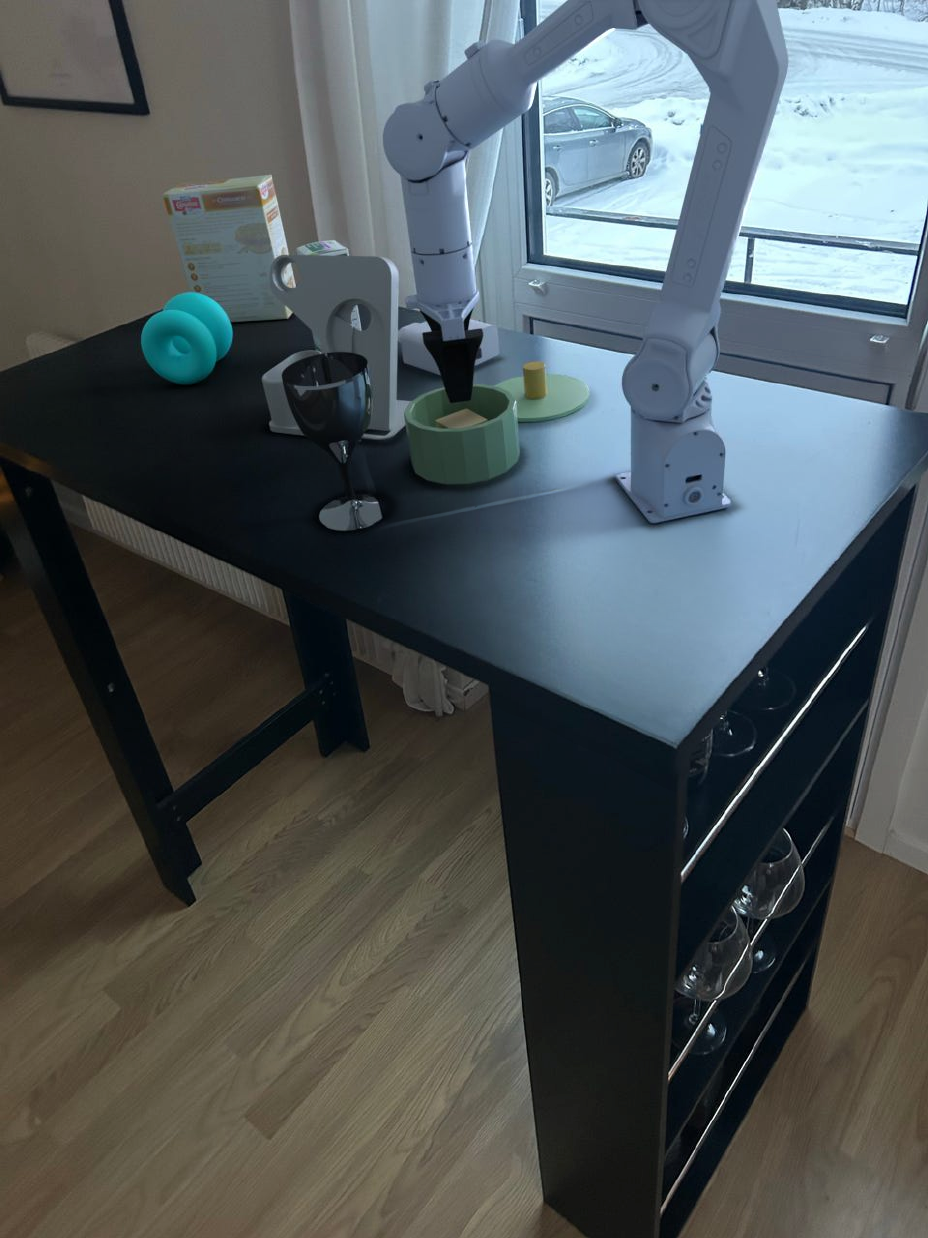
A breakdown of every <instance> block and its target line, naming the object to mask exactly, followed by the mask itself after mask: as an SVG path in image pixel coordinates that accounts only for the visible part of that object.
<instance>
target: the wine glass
mask: <svg viewBox="0 0 928 1238" xmlns="http://www.w3.org/2000/svg"><path fill="white" fill-rule="evenodd" d="M282 382H283V386H284V390H285V394H286V397H287V401H288V404H289V407H290V409H291V412H292V414H293V417H294V419H295V421H296V423H297V425H298V427H299V428H300V430H301V431H302V433H303V434H304V435H305V436H304V435H303V436H304V437H306V439H308V440H309V441H310V442H312V443H313V444H314V445H316V446H317V447H319V448H320V449H322V450H323V451H325V452H326V453H327V454H328V455H330V456H331V457H332V459H333V460H334V461H335V463H336V464H337V467H338V470H339V472H340V475H341V478H342V481H343V484H344V488H345V493H346V495H344V496H341V497H338V498H336V499H334V500H332V501H330V502H329V503H327V504H326V505H325V506H324V507H322V509H321V510H320V512H319V515H318V520H319V522H320V524H321V525H322V526H323V527H326V528H328V529H330V530H335V531H344V532H345V531H355V530H361V529H364V528H369V527H371V526H373V525H375V524H377V523H378V522H380V521H381V520H383V519H384V518H385V514H384V512H383V508H382V506H381V502H380V499H379V495H377V494H373V493H355V490H354V485H353V478H352V458H353V453H354V451H355V449H356V447H357V445H358V444H359V443H360V442H359V441H361V440H362V439H363V438H362V436H363V435H364V434H366V431H367V430H368V429H367V428H368V426H369V424H370V421H371V416H372V383H371V376H370V370H369V364H368V361H367V359H366V358H365V357H364V356H362V355H359V354H356V353H350V352H330V353H323V354H318V355H313V356H310V357H306V358H303V359H301V360H298V361H296V362H294V363H292V364H291V365H289V366H288V367H286V368H285V369H284V371H283V372H282Z"/></svg>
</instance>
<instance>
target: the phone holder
mask: <svg viewBox="0 0 928 1238" xmlns="http://www.w3.org/2000/svg"><path fill="white" fill-rule="evenodd" d="M289 263H291V264H292V263H293V264H295V265H296V267H297V268H298V281H297V283H296V287H295V288H291V287H289V286H288V285H287V284H286V282H285V279H284V270H285V268H286V266H287V265H288V264H289ZM399 281H400V276H399V270H398V267H397V265H396V264H395V263H394V262H393V261H392V260H391V259H390V258H388V257H383V256H374V255H349V256H330V255H297V254H289V255H280V256H278V257H277V258H275V260H274V261H273V262H272V264H271V267H270V287H271V290H272V292H273V294H274V295H275V296H276V297H277V298H278V299H279V300H280V301H281V302H282V303H283V304H284V305H285V306H286V307H288V308H289V309H290V310H291V311H292V312H293V313H292V314H293V315H294V316H296V317H297V318H298V319H299V320H300V321H301V322H302V323H304V325H305V326H306V327H307V328H309V329H310V330H311V332H312V331H313V332H314V333H316V334H317V336H318V337H319V339H320V342H321V352H319V351H316V349H315V350H313V349H311V350H310V349H307V350H303V351H299V352H295V353H293V354H291V355H290V356H288V357H286V358H285V359H284V360H282V361H280V362H279V363H278V364H277V365H275V366H274V367H272V368H270V369H269V370H267V372H265V373H264V374H263V375H262V376H261V383H262V386H263V391H264V394H265V398H266V402H267V407H268V410H269V413H270V419H271V420H270V421H269V422H268V425H269V429H270V431H271V432H273V433H278V434H279V433H280V434H286V435H287V434H288V435H295V436H296V435H297V436H304V437H306V436H305V435H304V434H303V433H302V431H301V430H300V428H299V427H298V425H297V423H296V421H295V419H294V417H293V414H292V412H291V409H290V407H289V404H288V401H287V397H286V394H285V390H284V386H283V382H282V372H283V371H284V369H285V368H286V367H288V366H289V365H291V364H292V363H294V362H296V361H298V360H301V359H303V358H306V357H310V356H313V355H318V354H323V353H330V352H350V353H356V354H359V355H362V356H364V357H365V358H366V359H367V361H368V364H369V370H370V376H371V383H372V416H371V421H370V424H369V426H368V428H367V430H375V431H384V432H388V433H387V434H385V435H379V434H369V433H364V435H363V436H362V438H361V439H364V440H365V439H366V440H374V441H384V440H389V439H391V438H393V437H395V436H396V435H397V434H398V433H399V432H400V431H401V430H402V429H403V428H404V427H406V424H405V418H404V412H405V410H406V408H407V406H408V404H409V403H410V402H412V401H413V400H403V399H397V397H398V395H397V394H398V392H397V391H398V389H397V388H398V347H399V346H398V344H399V343H398V331H399V290H400V289H399V288H400V286H399V284H400V282H399ZM359 305H363V306H365V307H366V308H367V309H368V311H369V313H370V323H369V325H368V326H367V328H366V329H361V330H362V331H361V330H358V329H357V328H355V326H354V325H353V323H352V319H351V315H352V311H353V309H354V308H355V307H356V306H359ZM361 442H362V440H360V441H359V442H358V443H361Z"/></svg>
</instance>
